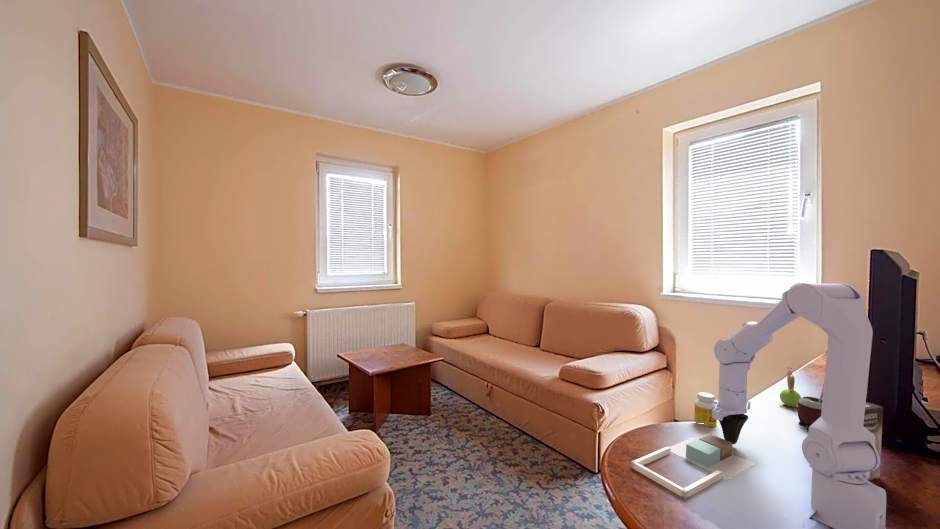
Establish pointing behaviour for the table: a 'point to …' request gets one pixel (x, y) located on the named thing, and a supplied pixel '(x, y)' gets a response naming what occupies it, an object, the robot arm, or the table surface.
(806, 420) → the mate gourd
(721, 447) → the brown square block
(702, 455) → the mint green block
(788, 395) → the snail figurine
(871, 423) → the coffee box
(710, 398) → the supplement bottle
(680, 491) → the box
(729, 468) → the beige board
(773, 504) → the table surface
